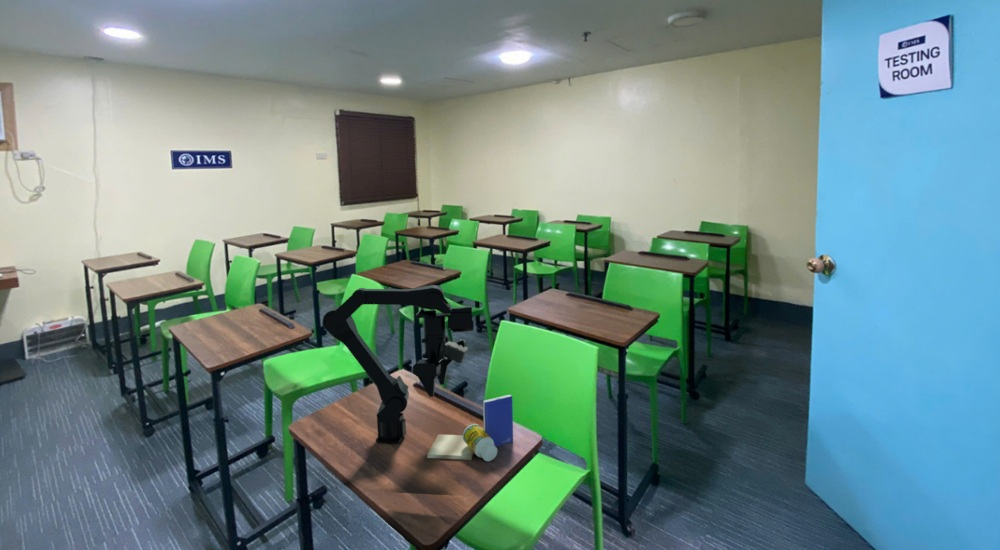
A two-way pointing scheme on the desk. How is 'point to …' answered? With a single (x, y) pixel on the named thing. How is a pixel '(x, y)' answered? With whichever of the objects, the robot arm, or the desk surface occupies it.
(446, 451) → the birch board
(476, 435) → the supplement bottle
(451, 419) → the desk surface
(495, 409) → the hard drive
